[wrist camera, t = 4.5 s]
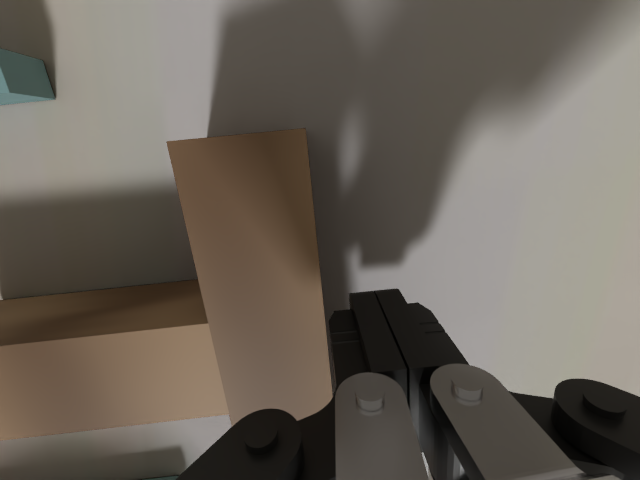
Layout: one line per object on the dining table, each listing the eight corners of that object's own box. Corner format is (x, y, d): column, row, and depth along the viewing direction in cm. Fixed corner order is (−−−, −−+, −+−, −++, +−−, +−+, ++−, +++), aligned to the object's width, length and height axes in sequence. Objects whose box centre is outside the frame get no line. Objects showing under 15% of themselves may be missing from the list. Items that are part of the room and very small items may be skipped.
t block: (304, 130, 10) (305, 128, 7) (335, 431, 14) (344, 510, 11) (-63, 166, 10) (-218, 178, 7) (70, 462, 13) (7, 550, 10)
